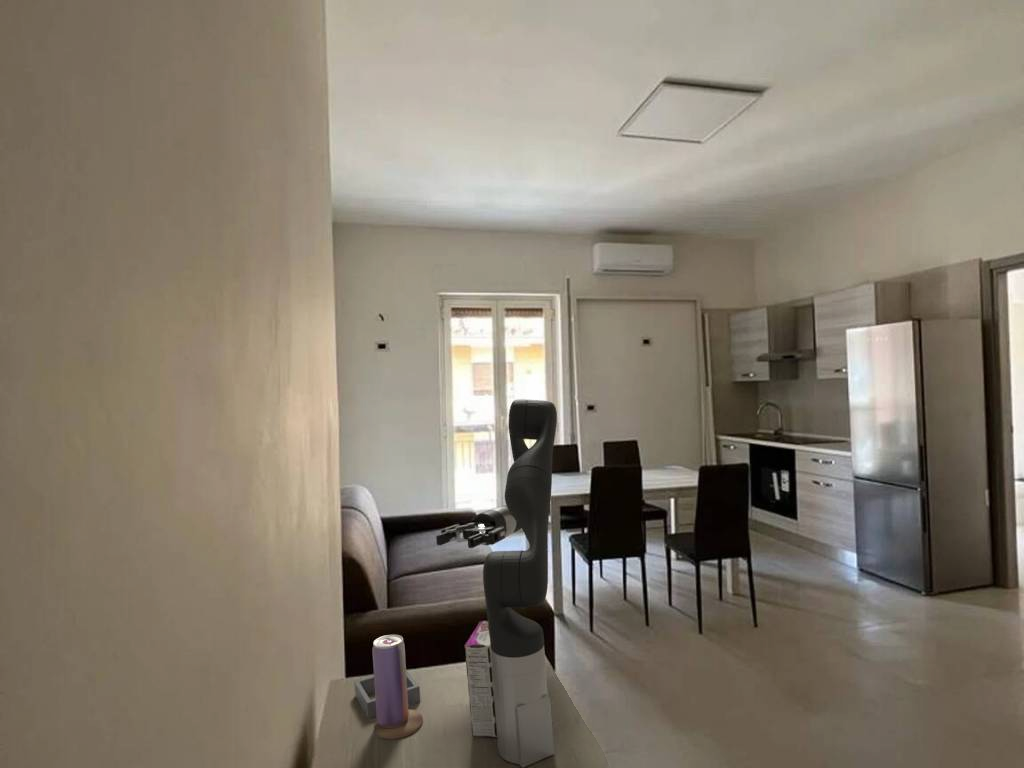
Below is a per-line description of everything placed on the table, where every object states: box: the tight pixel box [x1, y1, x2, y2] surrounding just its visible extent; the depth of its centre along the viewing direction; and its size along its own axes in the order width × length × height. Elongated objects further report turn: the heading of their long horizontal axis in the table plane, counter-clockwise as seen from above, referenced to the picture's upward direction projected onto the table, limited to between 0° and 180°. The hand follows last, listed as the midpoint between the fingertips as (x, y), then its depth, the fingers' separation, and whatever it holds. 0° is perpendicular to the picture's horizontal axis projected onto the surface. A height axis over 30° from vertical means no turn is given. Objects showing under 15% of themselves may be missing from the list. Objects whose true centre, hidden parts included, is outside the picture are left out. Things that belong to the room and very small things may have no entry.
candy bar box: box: [464, 620, 497, 738], centre depth 105 cm, size 11×5×16 cm, turn 168°
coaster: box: [373, 708, 424, 740], centre depth 106 cm, size 9×9×1 cm
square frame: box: [354, 670, 421, 720], centre depth 116 cm, size 11×11×3 cm
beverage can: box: [371, 634, 409, 729], centre depth 107 cm, size 6×6×15 cm
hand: (453, 542), depth 121 cm, fingers open, 8 cm apart
